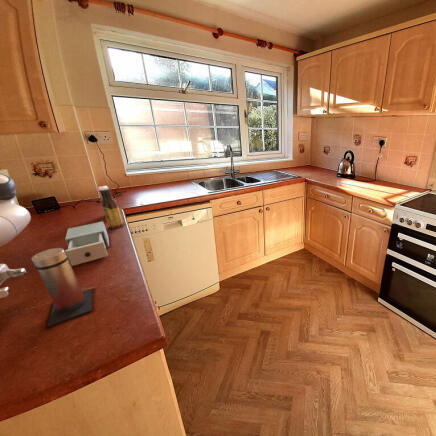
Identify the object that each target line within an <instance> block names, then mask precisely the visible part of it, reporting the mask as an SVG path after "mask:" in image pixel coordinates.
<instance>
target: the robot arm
mask: <svg viewBox="0 0 436 436" xmlns="http://www.w3.org/2000/svg"><path fill="white" fill-rule="evenodd" d="M31 219H32V216H31V213H30V212H29V210H28V209H26V208H25V207H24V206H22V205H19V204H17V185H16V183H15V180H14V179H13V178H11V177H10V176H8V175H5V174H3V173H0V248H1V247H3V246H5V245H7V244H8V243H10V242H11V241H12V240H14V238H16V237H17V236H18V235H19V234H20V233H21V232H23V230H25V229H26V227H28V225H29V223H30V222H31ZM26 274H27V270H26V269H25V268H24V267H21V268H15V269H13V268H9V267H8V265H7V264H6V263H0V286H1V285H2V284H3V283H4V282H5V281H6V280H7V279H10V278H13V277H15V278H16V279H17V278H21V277H24V276H25V275H26ZM10 294H11V290H10V288H9V287H8V286H4V287H0V299H2V298H6V297H8V296H9V295H10Z"/></svg>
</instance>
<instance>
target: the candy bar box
mask: <svg viewBox="0 0 436 436" xmlns="http://www.w3.org/2000/svg"><path fill="white" fill-rule="evenodd" d="M96 188H97V192H98V196H99V198H100V200H101V202H102V195H101V193H100V189H103V188H109V186H108V185H102V186H97V187H96Z"/></svg>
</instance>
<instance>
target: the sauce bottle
mask: <svg viewBox="0 0 436 436" xmlns="http://www.w3.org/2000/svg"><path fill="white" fill-rule="evenodd" d="M100 193H101V195H102V201H101V209H102V211H103V215H104V217H105V219H106V222H107V225H108V227H109V228H110V229H111V230H112V229H118V228H121V227H123V226H124V220H123V218H122V214H121V211H120V209H119V206H118V202H117V200H116V199H115V198H114V197H113V195H112V191H111V188H109V187H108V188H103V189H100Z"/></svg>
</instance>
